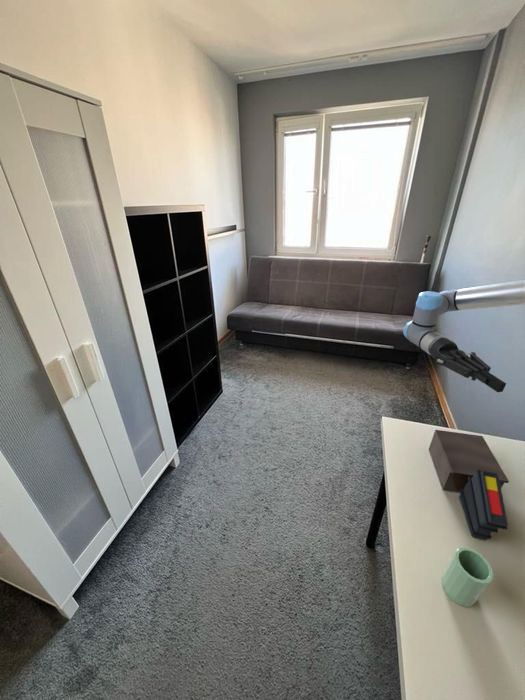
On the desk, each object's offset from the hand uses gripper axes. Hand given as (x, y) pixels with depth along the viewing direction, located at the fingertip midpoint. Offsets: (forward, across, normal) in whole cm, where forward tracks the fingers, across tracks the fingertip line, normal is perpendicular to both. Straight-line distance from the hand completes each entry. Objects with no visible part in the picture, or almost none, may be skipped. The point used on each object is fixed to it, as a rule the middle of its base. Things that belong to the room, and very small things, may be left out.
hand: (501, 387), depth 74 cm
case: (+4, +7, -27) cm, 28 cm away
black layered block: (+17, +15, -27) cm, 35 cm away
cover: (+4, +7, -19) cm, 21 cm away
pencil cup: (+29, +28, -27) cm, 48 cm away
